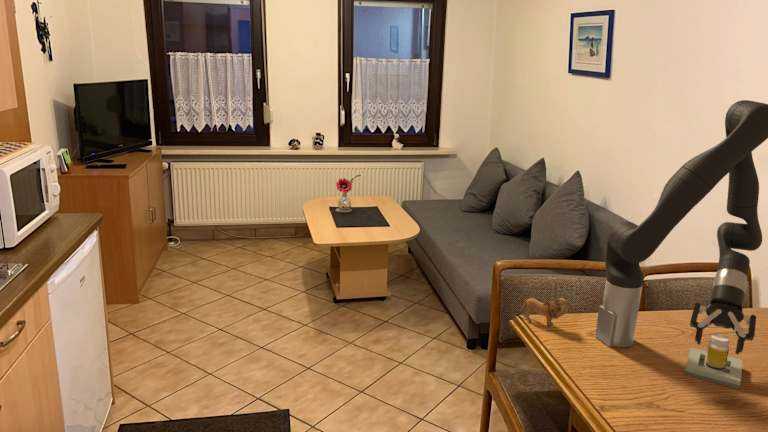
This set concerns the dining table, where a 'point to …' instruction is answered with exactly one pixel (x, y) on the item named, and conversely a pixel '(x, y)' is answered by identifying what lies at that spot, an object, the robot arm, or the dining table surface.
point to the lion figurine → (545, 309)
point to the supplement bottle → (717, 352)
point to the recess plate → (726, 377)
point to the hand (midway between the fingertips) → (717, 348)
